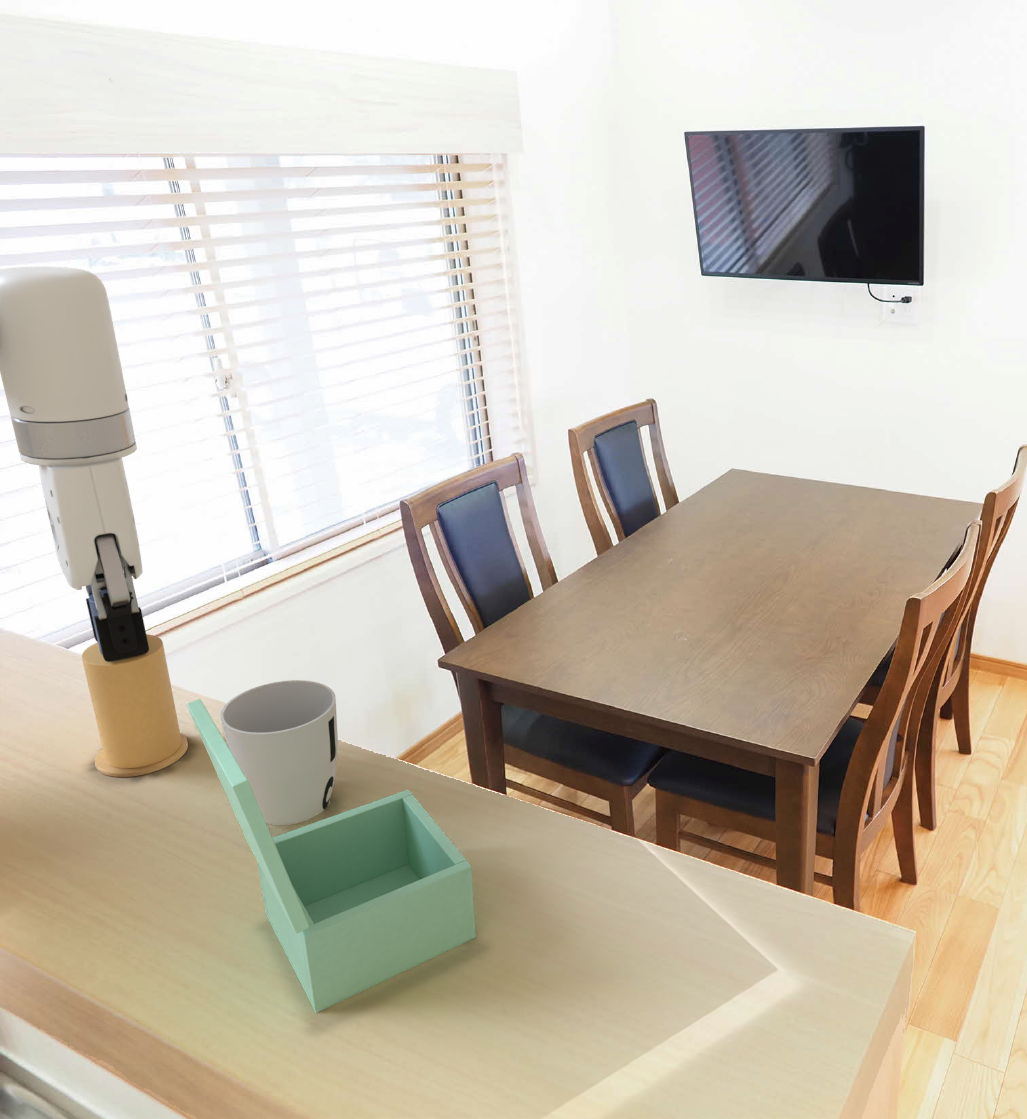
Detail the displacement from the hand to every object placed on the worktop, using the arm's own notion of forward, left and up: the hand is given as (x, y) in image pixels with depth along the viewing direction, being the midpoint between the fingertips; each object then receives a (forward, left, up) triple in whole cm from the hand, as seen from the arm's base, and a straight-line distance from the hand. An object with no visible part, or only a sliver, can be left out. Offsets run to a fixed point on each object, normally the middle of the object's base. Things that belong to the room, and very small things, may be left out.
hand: (122, 645), depth 80 cm
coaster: (0, 0, -11) cm, 11 cm away
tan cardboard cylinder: (0, 0, -10) cm, 10 cm away
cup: (+8, -16, -11) cm, 21 cm away
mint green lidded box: (+8, -33, -11) cm, 36 cm away
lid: (+2, -33, +2) cm, 33 cm away
